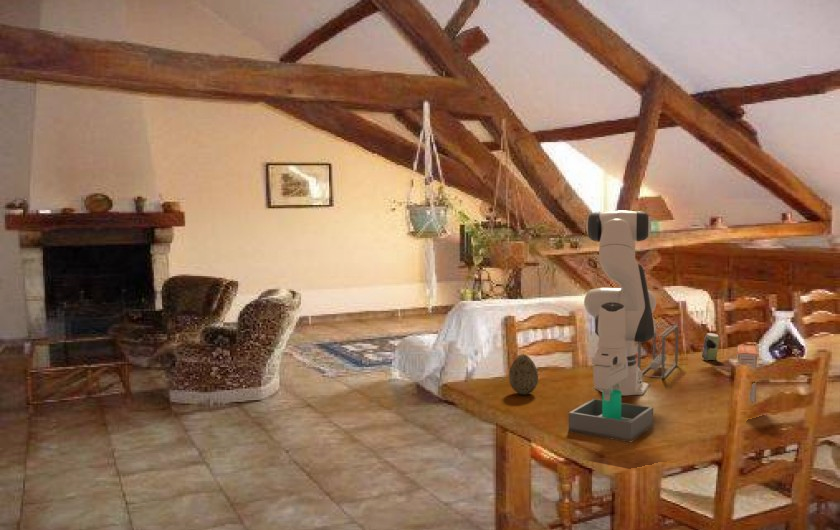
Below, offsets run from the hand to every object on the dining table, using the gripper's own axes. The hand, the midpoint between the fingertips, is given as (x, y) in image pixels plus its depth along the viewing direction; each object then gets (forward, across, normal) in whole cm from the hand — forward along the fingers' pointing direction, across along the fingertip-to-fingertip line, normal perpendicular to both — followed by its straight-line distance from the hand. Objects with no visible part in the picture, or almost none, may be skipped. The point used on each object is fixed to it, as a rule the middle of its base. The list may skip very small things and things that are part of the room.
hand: (611, 398), depth 243 cm
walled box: (+10, 0, 0) cm, 10 cm away
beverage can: (+10, -120, -1) cm, 120 cm away
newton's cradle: (+10, -87, -14) cm, 89 cm away
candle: (+8, 0, 0) cm, 9 cm away
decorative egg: (+10, -23, -43) cm, 50 cm away
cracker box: (+10, -46, +30) cm, 56 cm away
